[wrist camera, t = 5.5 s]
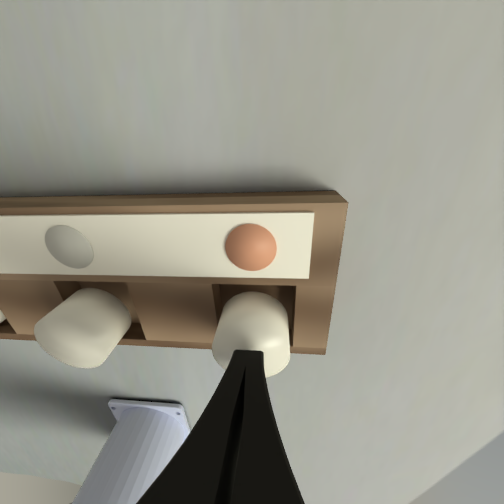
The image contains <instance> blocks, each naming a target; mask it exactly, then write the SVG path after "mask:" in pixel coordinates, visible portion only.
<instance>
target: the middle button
mask: <svg viewBox="0 0 504 504" xmlns="http://www.w3.org/2000/svg"><path fill="white" fill-rule="evenodd" d="M130 326H131V315H130V313H129V310H128V309H127V307H126V306H125V305H124V304H123V303H122V302H121V301H120V300H119V299H118V298H117V297H115V296H114V295H112V294H110V293H108V292H106V291H103V290H100V289H96V288H83V289H80V290H78V291H76V292H75V293H74V294H72V295H71V296H70V297H69V298H67V299H66V300H65V301H63V302H62V303H61V304H60V305H58V306H57V307H56V308H55V309H53V310H52V311H51V312H49V313H48V314H47V315H46V316H44V317H43V318H42V319H41V320H39V321H38V322H37V323H36V324H35V327H34V335H35V338H36V340H37V342H38V343H39V345H40V346H41V347H42V348H43V349H44V350H45V351H46V352H47V353H48V354H49V355H51V356H52V357H54V358H55V359H57V360H59V361H61V362H63V363H65V364H67V365H70V366H74V367H78V368H94V367H97V366H99V365H101V364H102V363H103V362H104V361H105V360H106V358H107V357H108V356H109V354H110V353H111V352H112V350H113V349H114V348H115V346H116V345H117V344H118V342H119V341H120V340H121V338H122V337H123V336H124V334H125V333H126V332H127V331H128V329H129V328H130Z"/></svg>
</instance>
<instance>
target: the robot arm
mask: <svg viewBox="0 0 504 504" xmlns="http://www.w3.org/2000/svg"><path fill="white" fill-rule="evenodd" d="M108 406H109V408H110V409H111V411H112V413H113V415H114V417H115V419H116V420H117V423H116V424H115V426H114V428H113V430H112V432H111V434H110V435H109V437H108V439H107V441H106V443H105V444H104V446H103V448H102V450H101V452H100V453H99V455H98V457H97V459H96V461H95V463H94V464H93V466H92V468H91V470H90V472H89V473H88V475H87V477H86V479H85V481H84V482H83V484H82V486H81V488H80V490H79V492H78V493H77V495H76V497H75V499H74V501H73V502H72V504H305V503H304V501H303V498H302V496H301V493H300V490H299V488H298V485H297V483H296V480H295V477H294V475H293V472H292V470H291V467H290V464H289V461H288V458H287V455H286V452H285V449H284V446H283V443H282V440H281V437H280V434H279V431H278V427H277V424H276V420H275V417H274V413H273V410H272V406H271V402H270V397H269V393H268V388H267V383H266V377H265V371H264V352H262V351H257V350H237V349H236V350H235V351H234V352H233V355H232V357H231V360H230V362H229V365H228V367H227V369H226V371H225V373H224V375H223V377H222V379H221V381H220V383H219V385H218V387H217V389H216V391H215V393H214V394H213V396H212V398H211V400H210V401H209V403H208V405H207V406H206V408H205V410H204V412H203V413H202V415H201V417H200V418H199V420H198V421H197V423H196V424H195V426H194V427H193V429H192V431H191V432H190V428H189V425H188V422H187V418H186V415H185V412H184V408H183V406H182V405H180V404H172V403H159V402H146V401H132V400H119V399H111V400H110V401H109V403H108Z"/></svg>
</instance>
